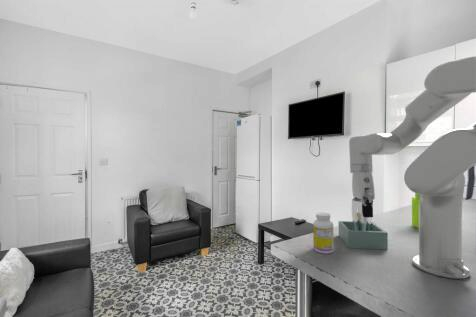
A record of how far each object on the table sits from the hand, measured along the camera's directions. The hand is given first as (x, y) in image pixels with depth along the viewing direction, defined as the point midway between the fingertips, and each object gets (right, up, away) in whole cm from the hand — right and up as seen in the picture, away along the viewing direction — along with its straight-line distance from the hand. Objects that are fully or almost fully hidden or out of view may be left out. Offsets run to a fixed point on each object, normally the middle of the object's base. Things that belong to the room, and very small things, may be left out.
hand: (363, 214), depth 89 cm
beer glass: (0, -10, +1) cm, 10 cm away
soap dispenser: (+36, -10, +18) cm, 42 cm away
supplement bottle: (-17, -12, -6) cm, 22 cm away
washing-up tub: (0, -11, +1) cm, 11 cm away
